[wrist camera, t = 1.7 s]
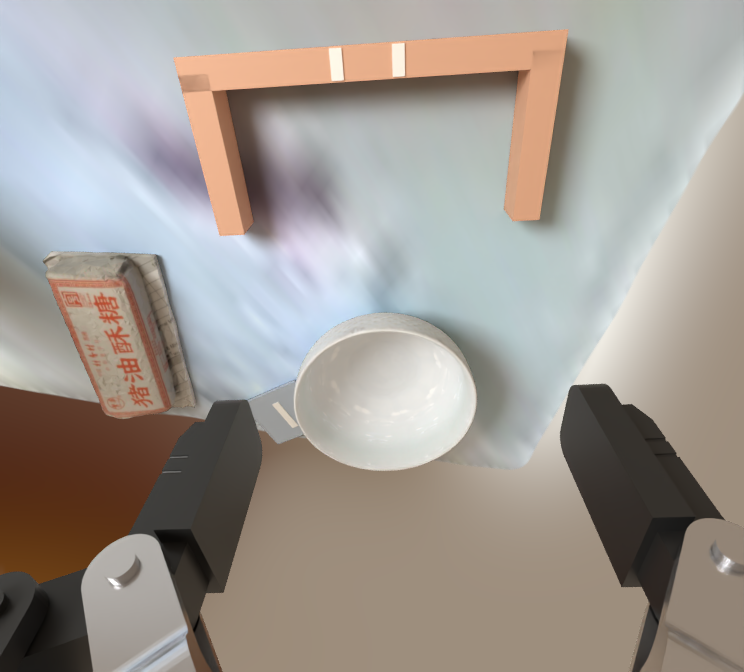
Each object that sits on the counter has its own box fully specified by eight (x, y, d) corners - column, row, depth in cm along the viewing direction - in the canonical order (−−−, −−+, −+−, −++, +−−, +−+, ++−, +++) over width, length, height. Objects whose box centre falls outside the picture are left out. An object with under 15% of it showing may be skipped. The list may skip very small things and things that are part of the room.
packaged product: (12, 270, 36) (134, 273, 36) (50, 247, 40) (160, 250, 40) (87, 429, 46) (183, 432, 45) (111, 398, 50) (199, 400, 49)
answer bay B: (528, 207, 36) (539, 220, 34) (230, 223, 37) (219, 236, 35) (552, 30, 30) (569, 29, 27) (190, 56, 31) (172, 57, 28)
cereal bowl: (456, 424, 50) (465, 474, 44) (310, 421, 50) (300, 471, 44) (476, 291, 41) (492, 333, 35) (297, 288, 41) (282, 329, 35)
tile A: (278, 441, 52) (277, 445, 52) (242, 402, 49) (241, 405, 48) (328, 422, 50) (328, 425, 50) (294, 379, 47) (293, 382, 46)
